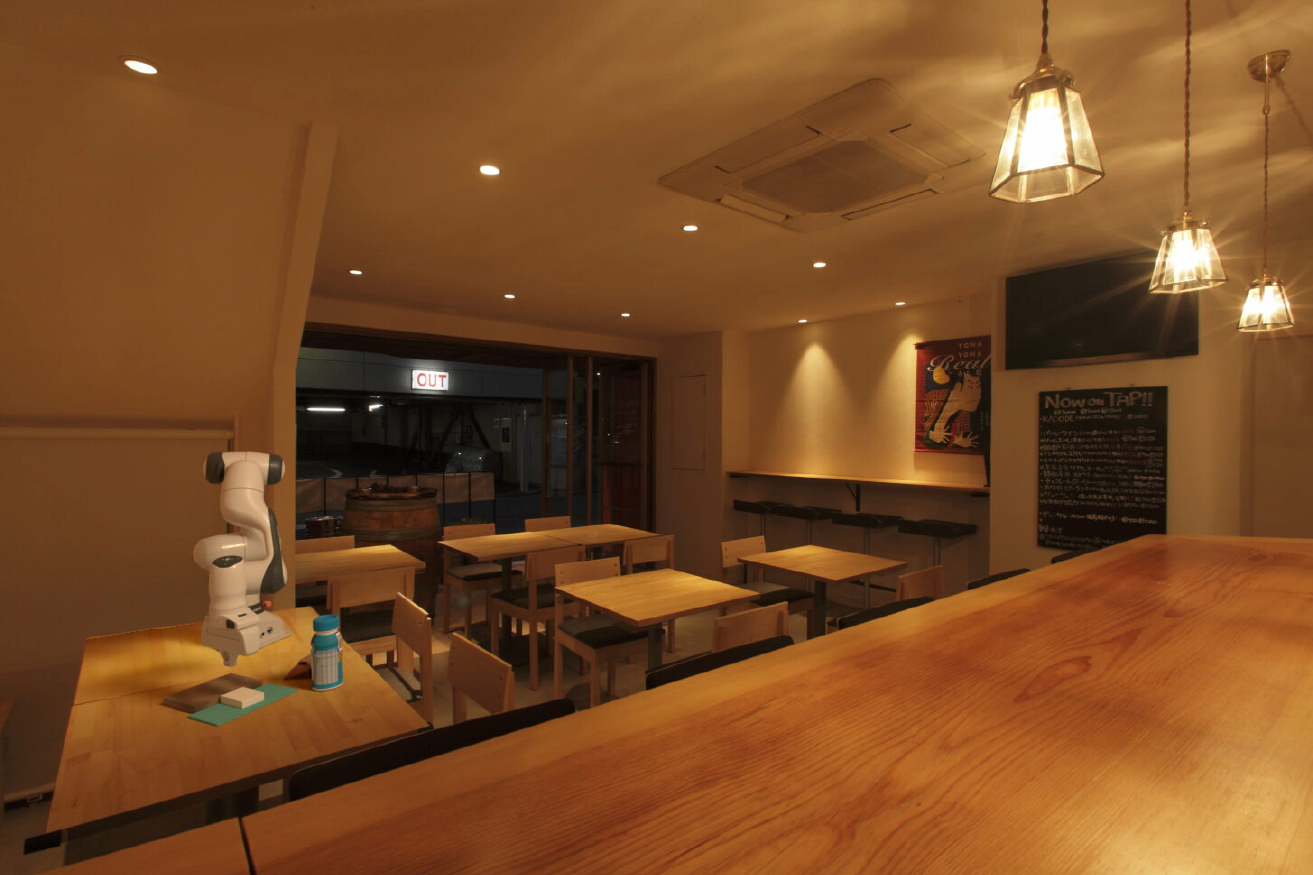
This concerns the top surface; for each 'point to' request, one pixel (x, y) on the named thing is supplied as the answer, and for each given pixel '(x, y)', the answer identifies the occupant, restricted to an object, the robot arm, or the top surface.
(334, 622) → the beverage bottle
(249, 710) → the mat
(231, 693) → the tile
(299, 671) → the sunglasses case
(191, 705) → the brown wooden board
